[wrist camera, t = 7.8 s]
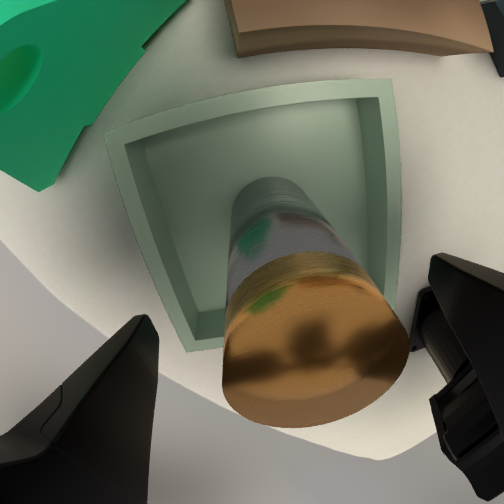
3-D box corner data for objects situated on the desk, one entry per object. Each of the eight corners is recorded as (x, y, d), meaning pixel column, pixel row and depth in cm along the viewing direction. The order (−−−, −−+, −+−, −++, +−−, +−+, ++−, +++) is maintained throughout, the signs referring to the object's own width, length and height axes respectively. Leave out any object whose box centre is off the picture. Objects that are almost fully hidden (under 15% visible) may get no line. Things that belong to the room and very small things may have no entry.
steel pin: (305, 170, 13) (423, 283, 4) (314, 243, 15) (393, 403, 6) (223, 185, 13) (194, 331, 4) (240, 258, 15) (245, 437, 6)
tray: (374, 281, 17) (394, 309, 15) (191, 318, 18) (186, 352, 15) (362, 83, 12) (391, 79, 9) (127, 127, 12) (102, 132, 10)
